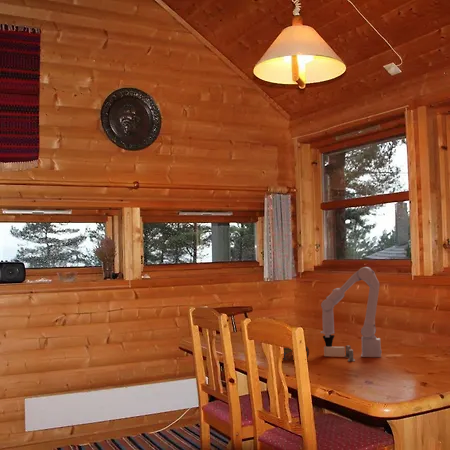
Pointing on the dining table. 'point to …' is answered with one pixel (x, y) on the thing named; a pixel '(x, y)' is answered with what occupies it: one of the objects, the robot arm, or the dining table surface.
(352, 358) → the latch block
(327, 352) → the lipped cream column
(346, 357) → the pivot post
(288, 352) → the tin
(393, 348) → the dining table surface
